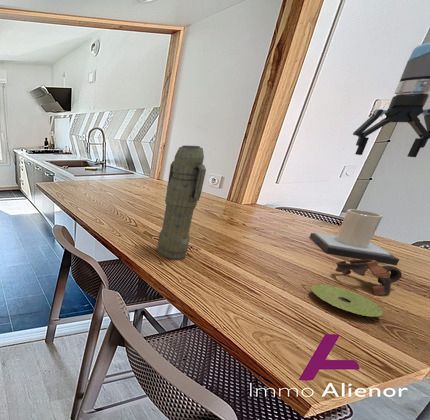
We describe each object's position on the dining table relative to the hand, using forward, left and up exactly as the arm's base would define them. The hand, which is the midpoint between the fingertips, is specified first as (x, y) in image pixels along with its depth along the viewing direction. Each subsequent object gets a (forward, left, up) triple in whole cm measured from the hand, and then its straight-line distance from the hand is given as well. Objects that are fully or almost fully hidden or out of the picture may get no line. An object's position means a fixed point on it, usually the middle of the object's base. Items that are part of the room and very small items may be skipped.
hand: (384, 155), depth 92 cm
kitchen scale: (+11, +26, -31) cm, 42 cm away
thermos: (+66, +59, -31) cm, 94 cm away
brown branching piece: (+18, +52, -31) cm, 63 cm away
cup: (+11, +26, -28) cm, 40 cm away
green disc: (+28, +67, -31) cm, 79 cm away
